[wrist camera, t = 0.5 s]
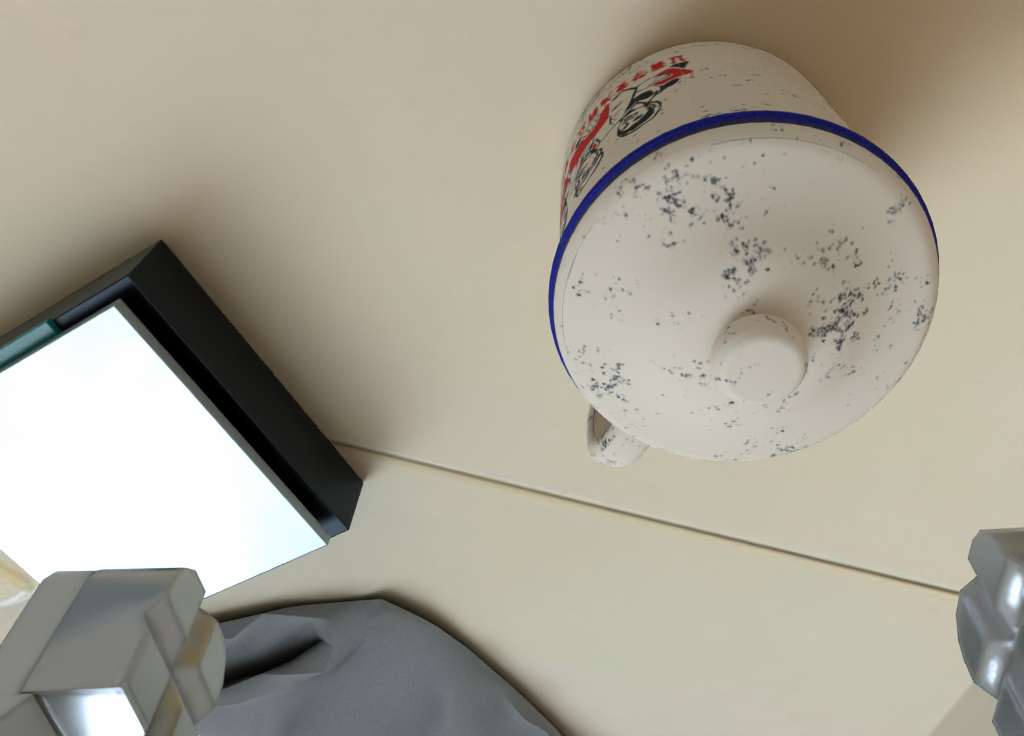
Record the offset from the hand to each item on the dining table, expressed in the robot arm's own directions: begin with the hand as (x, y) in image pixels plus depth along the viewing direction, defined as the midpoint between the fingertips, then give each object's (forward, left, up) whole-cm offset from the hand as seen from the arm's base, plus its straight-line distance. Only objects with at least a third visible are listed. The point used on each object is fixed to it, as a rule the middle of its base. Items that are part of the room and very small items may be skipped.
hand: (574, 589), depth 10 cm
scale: (+4, -21, -21) cm, 30 cm away
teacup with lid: (+5, +1, -21) cm, 22 cm away
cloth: (+20, -23, -21) cm, 37 cm away
